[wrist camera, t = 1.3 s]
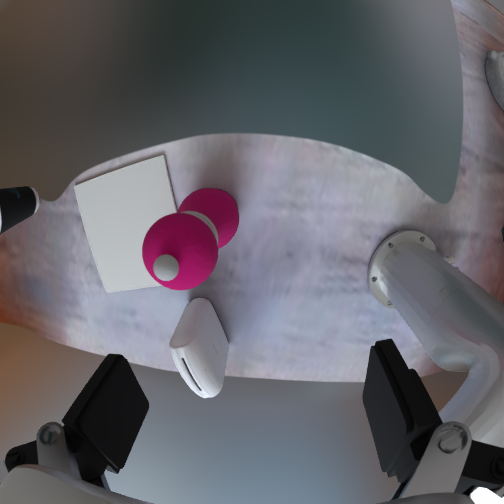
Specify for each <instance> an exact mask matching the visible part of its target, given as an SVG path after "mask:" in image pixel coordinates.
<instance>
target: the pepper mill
mask: <svg viewBox="0 0 504 504" xmlns="http://www.w3.org/2000/svg"><path fill="white" fill-rule="evenodd" d="M238 225H239V214H238V208H237V205H236V202H235V200H234V199H233V197H232V196H231V195H230V194H228V193H227V192H225V191H223V190H220V189H213V188H204V189H199V190H196V191H194V192H193V193H191V194H190V195H189V196H187V197H186V198H185V199H184V201H183V202H182V204H181V205H180V207H179V210H178V213H172V214H169V215H166V216H164V217H162V218H160V219H158V220H157V221H156V222H155V223H154V224H153V225H152V226H151V227H150V228H149V230H148V231H147V233H146V235H145V238H144V241H143V245H142V258H143V262H144V265H145V267H146V269H147V271H148V273H149V274H150V275H151V277H152V278H153V279H154V280H155V281H157V282H158V283H159V284H161V285H163V286H165V287H167V288H170V289H174V290H187V289H191V288H194V287H196V286H198V285H200V284H201V283H203V282H204V281H205V280H206V279H207V278H208V277H209V276H210V274H211V273H212V272H213V270H214V268H215V265H216V262H217V258H218V249H219V248H221V247H223V246H224V245H226V244H227V243H228V242H229V241H230V240H231V239H232V237H233V236H234V235H235V233H236V231H237V228H238Z"/></svg>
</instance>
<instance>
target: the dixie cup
mask: <svg viewBox="0 0 504 504" xmlns="http://www.w3.org/2000/svg"><path fill="white" fill-rule="evenodd" d="M38 207H39V196H38V193H37V191H36V190H35V189H34V188H32V187H28V186H27V187H15V188H6V189H0V234H1V233H3V232H5V231H6V230H8V229H10V228H11V227H13V226H14V225H16V224H18V223H20V222H21V221H23V220H25V219H26V218H28V217H30V216H32V215H33V214H34V213H35V212H36V211H37V209H38Z"/></svg>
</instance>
